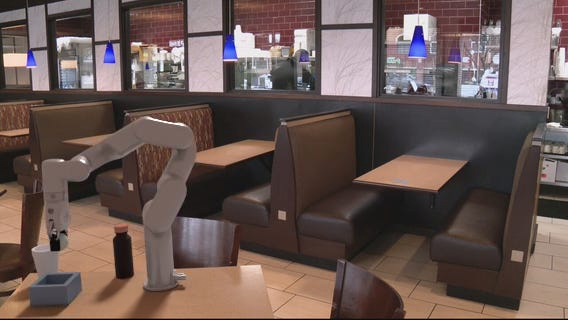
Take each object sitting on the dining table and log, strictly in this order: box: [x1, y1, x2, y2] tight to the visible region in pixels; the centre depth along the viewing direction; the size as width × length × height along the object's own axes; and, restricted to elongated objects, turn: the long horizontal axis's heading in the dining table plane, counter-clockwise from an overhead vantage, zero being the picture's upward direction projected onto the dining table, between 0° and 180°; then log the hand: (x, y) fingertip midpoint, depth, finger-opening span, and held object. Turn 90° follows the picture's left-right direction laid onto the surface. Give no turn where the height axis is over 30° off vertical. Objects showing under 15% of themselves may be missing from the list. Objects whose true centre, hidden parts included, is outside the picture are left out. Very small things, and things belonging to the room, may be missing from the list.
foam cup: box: [31, 243, 61, 278], centre depth 193 cm, size 10×9×13 cm
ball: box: [48, 233, 69, 252], centre depth 174 cm, size 6×6×6 cm
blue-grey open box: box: [27, 271, 83, 308], centre depth 177 cm, size 13×13×7 cm
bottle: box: [112, 223, 135, 280], centre depth 195 cm, size 7×7×20 cm
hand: (59, 247), depth 175 cm, fingers closed on ball, 5 cm apart
